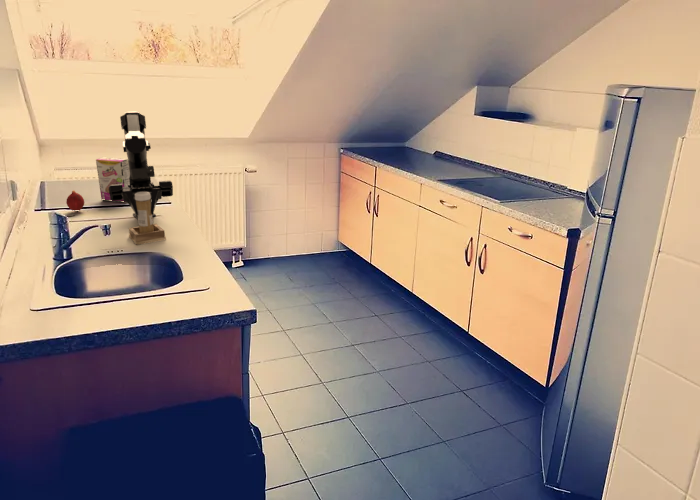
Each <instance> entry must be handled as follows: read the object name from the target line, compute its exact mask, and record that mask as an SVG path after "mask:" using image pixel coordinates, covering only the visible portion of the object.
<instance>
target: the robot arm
mask: <svg viewBox="0 0 700 500" xmlns="http://www.w3.org/2000/svg"><path fill="white" fill-rule="evenodd" d="M119 118H120V126H121V130H123V131H124V132H123V133H124V141H122V148H123V153H126V156H127V159H128V164H129V172H130V177H129V181H130V184H128V187H122V184H115V185H110V186H109V193H110V199H111V200H112V201H119V200H122V199H123V201H124V202H127V203H126V204H128V205H129V207H131V209H132V211H133V213H132V215H133V217H134V218H135V219H137V220H138V214H137V205H136V200H135V193H137V192H149V193H150V196H151V199H150V202H151V211H152V217H153V218H154V217H156V216H157V215H156V214H155V209H156V205H157V203H158V202H159V200H161V199H163V197H164V198H165V197H173V195H174V186H173V182H172V181H171V180H159V181H158V185H155V184H154V181H153V182H152V180H151V178H154V177H155V167H154V165H148V159H147V157H148V156H147V154H148V153H147V152H149V151H150V149H151V143H150V142H149V141H148V139H146V136H145V135H146V134H145V133H146V132H145V129H147V124H146V123H147V122H146V116H145V115H144V114H141V113H140V112H139V111H126V112H124V114H123V115H120V117H119Z"/></svg>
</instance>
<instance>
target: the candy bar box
mask: <svg viewBox="0 0 700 500" xmlns="http://www.w3.org/2000/svg"><path fill="white" fill-rule="evenodd" d="M95 164H96V170H97V176H98V177H97V178H98V184H99V190H100V196H101V197H100V198H101V200H102V199H105V200H111V199H110V193H109V186H110V185H115V184H122V187H128V184H130V181H129V177H130V172H129V164H128V158H116V157H106V156H105V157H103V156H102V157H99V158H96V159H95ZM119 201H123V199H122V200H119Z"/></svg>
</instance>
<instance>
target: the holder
mask: <svg viewBox="0 0 700 500" xmlns="http://www.w3.org/2000/svg"><path fill="white" fill-rule="evenodd" d="M153 227H154V231H153V232H147V233H141V234H140V229H139V225H138V226H133V227H129V228H128V232H129V234H128V237H129V239H130V240H132V242H134V244H135V245H136V246H137V245H143V244H149V243H150V244H151V243H155V242H160V241H166V240H167V237H166V236H165V233H166V232H165V230H164V229H163V228H162V227H161V226H160V225H159V224H157V223H153Z"/></svg>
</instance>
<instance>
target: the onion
mask: <svg viewBox="0 0 700 500" xmlns="http://www.w3.org/2000/svg"><path fill="white" fill-rule="evenodd" d="M65 202H66V206H67V207H68V208H69V209H70V210H72V211H73V210H79V211H81V210H82V209H83V208H84V205H85V199H84V198H83V196H82V194H79V193H78V192H76V191H75V190H74V189H73V190H72V191H71V193H70V194H69V195H68V196H67V198H66V201H65Z"/></svg>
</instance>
